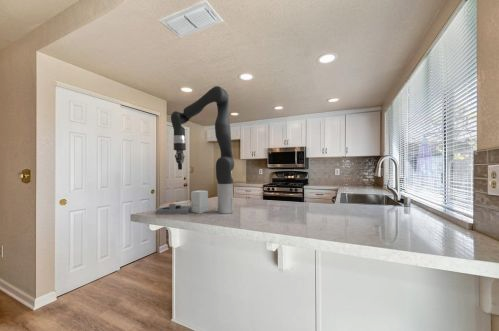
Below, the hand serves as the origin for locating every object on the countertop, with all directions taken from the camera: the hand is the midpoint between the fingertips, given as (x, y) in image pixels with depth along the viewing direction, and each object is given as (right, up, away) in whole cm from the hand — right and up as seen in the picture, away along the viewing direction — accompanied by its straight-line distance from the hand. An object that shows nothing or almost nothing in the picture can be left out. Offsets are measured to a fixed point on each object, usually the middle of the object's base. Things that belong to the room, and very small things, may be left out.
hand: (180, 169), depth 141 cm
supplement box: (+15, -26, -9) cm, 31 cm away
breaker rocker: (0, -21, -9) cm, 23 cm away
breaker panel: (0, -26, -9) cm, 27 cm away
